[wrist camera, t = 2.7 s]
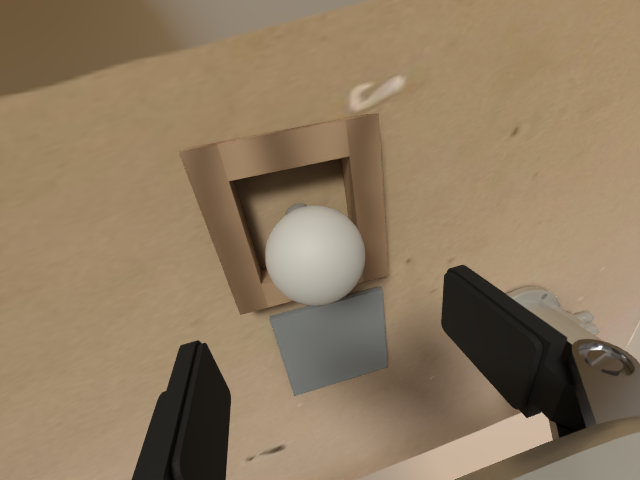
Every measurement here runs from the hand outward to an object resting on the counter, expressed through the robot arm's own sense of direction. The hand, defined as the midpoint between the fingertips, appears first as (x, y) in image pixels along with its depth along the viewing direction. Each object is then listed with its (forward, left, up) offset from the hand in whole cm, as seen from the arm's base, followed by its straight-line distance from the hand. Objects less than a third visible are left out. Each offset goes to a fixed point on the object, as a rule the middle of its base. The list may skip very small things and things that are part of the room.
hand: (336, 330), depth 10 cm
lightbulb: (0, 0, -15) cm, 15 cm away
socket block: (0, 0, -15) cm, 15 cm away
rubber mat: (-1, +16, -15) cm, 22 cm away
